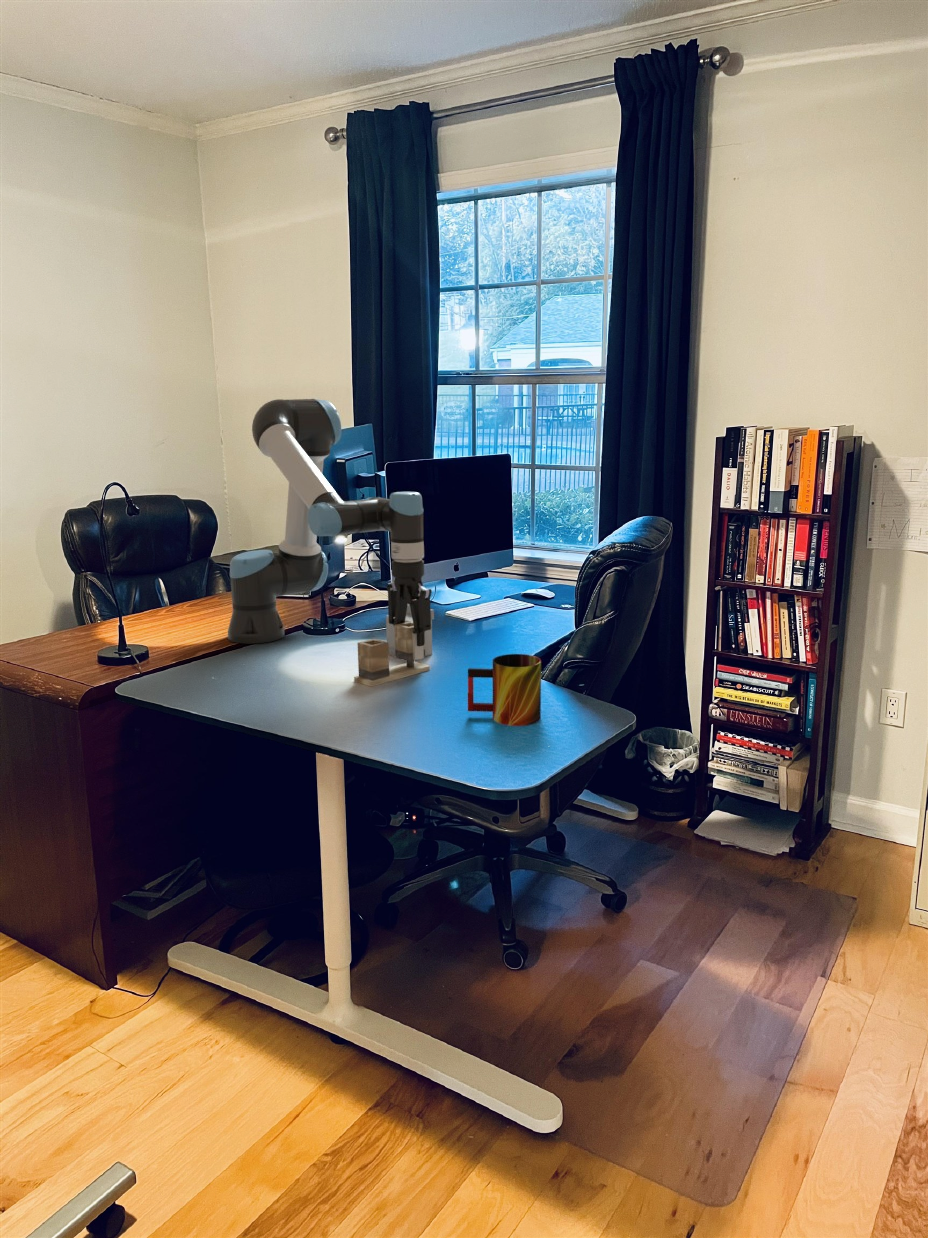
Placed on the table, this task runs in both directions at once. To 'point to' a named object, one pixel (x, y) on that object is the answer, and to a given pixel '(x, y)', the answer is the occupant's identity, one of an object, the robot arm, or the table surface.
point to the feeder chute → (391, 629)
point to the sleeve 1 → (373, 659)
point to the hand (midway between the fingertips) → (410, 656)
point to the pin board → (396, 673)
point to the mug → (511, 689)
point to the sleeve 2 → (404, 641)
